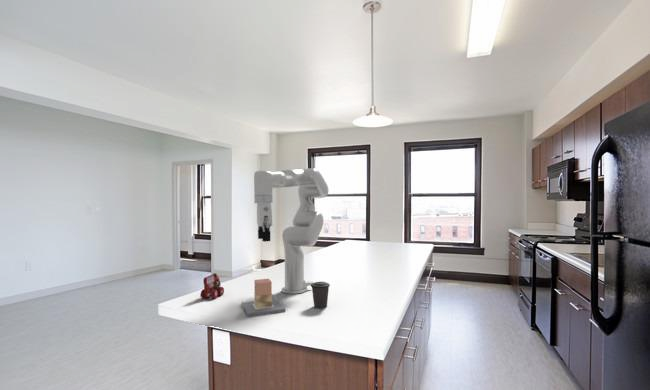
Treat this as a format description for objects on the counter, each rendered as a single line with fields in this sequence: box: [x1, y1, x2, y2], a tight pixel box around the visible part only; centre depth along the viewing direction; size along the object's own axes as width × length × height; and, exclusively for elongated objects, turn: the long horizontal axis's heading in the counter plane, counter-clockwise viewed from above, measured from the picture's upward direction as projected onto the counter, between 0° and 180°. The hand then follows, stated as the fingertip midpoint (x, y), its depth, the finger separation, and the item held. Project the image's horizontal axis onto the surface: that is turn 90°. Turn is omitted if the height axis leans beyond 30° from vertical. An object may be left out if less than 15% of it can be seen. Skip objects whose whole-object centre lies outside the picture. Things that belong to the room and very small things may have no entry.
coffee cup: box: [310, 281, 331, 310], centre depth 132 cm, size 8×8×10 cm
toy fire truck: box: [200, 272, 225, 300], centre depth 148 cm, size 7×12×10 cm, turn 168°
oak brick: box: [253, 291, 273, 308], centre depth 131 cm, size 6×6×5 cm
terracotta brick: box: [254, 278, 273, 296], centre depth 131 cm, size 6×6×5 cm
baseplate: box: [241, 297, 286, 318], centre depth 130 cm, size 15×15×1 cm
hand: (264, 239), depth 135 cm, fingers open, 9 cm apart
